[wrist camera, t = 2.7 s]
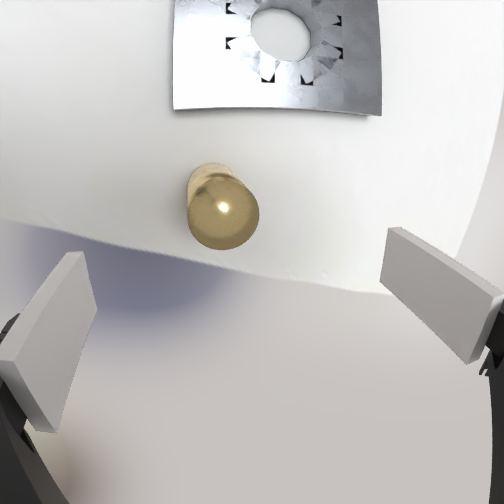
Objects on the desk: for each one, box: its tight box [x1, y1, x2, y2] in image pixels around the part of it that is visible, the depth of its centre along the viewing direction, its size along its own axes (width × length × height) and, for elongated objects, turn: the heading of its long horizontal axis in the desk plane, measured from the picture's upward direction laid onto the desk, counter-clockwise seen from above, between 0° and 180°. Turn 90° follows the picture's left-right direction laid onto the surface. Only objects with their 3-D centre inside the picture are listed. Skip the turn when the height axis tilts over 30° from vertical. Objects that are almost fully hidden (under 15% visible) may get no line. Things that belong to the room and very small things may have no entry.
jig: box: [173, 0, 382, 116], centre depth 21 cm, size 18×14×4 cm
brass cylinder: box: [187, 163, 259, 250], centre depth 23 cm, size 4×4×9 cm
